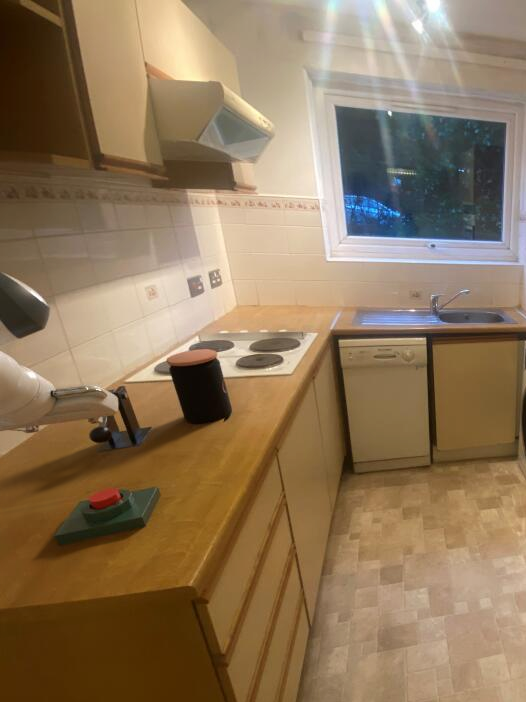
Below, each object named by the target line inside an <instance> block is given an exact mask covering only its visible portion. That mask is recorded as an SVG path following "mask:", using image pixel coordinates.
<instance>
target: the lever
mask: <svg viewBox="0 0 526 702" xmlns="http://www.w3.org/2000/svg"><path fill="white" fill-rule="evenodd" d="M105 390H106V391H108V392H110V393H112V394H113V392H114V391H115V390H116V389H105ZM109 418H110V416H105V417H103V422H102V423H98V426H96V427H93V428H92V429H91V430H90V431H89V433H88V436H89V439H90V441H92V442H93V443H96V444H104V443H105V442H107V441H108V440H110V438H111V437H112V432H111V430H110V429H109V428H107V425H108V422H109Z"/></svg>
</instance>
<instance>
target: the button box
mask: <svg viewBox="0 0 526 702" xmlns="http://www.w3.org/2000/svg"><path fill="white" fill-rule="evenodd" d="M117 489H118V488H117ZM118 490H119V493H120V495H121V500H120V501H118V502H117V503H116V504H114V505H111V506H109V507H106V508H102V509H93V508H92V506H91V503H90V501H89V499H86V500H81V501H79V502H78V503H77V505H76V506H75V507H74V508H73V509H72V511H71V512H70V514H69V515H68V517H67V518H66V519H65V521H63V523H62V524H61V526H59V528H58V530H57V531H56V532H55V534H54V535H53V537H54V540H55V541H56V543H57V545H58V546H65V545H69V544H72V543H78V542H82V541H86V540H92V539H96V538H101V537H104V536H105V537H106V536H110V535H113V534H118V533H123V532H127V531H132V530H136V529H141V528H146V527H147V525H148V523H149V521H150V518H151V517H152V516H153V515H152V514H153V513H154V510H155V508H156V506H157V504H158V502H159V500H160V498H161V496H162V494H161V492H160V488H159V486H158V485H157V486H151V487H147V488H142V489H141V488H140V489H136V490H132V491H130V490H129V489H123V488H122V489H121V488H119V489H118Z"/></svg>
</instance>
